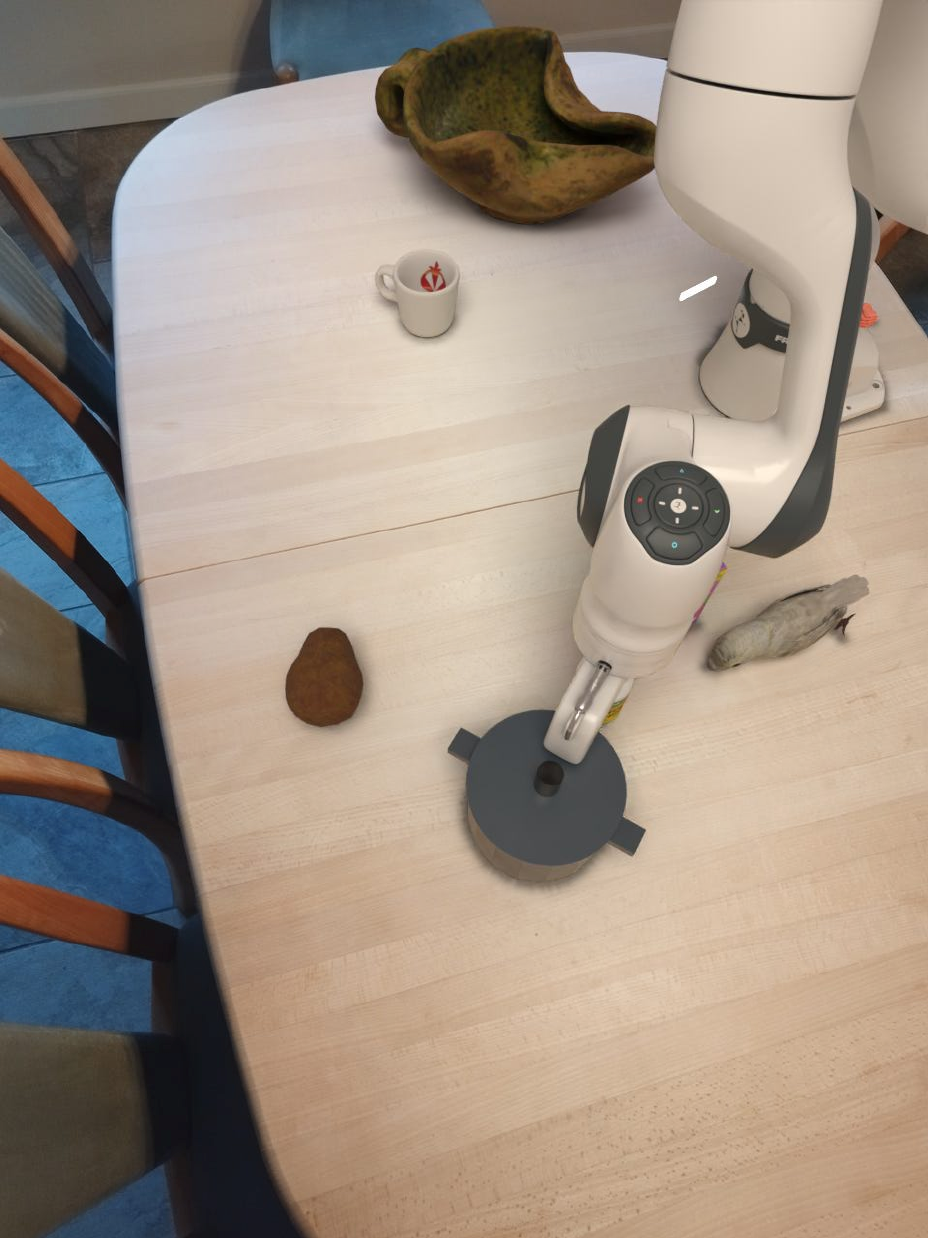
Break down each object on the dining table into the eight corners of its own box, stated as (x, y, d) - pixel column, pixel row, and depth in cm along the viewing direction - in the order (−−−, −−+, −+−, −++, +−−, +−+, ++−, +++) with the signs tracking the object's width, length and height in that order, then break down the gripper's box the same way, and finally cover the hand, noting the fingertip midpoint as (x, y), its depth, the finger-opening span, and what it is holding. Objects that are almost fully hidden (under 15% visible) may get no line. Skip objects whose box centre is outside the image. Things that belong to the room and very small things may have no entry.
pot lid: (512, 688, 78) (516, 668, 75) (650, 761, 75) (660, 745, 72) (435, 816, 73) (435, 802, 69) (581, 901, 70) (589, 891, 66)
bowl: (648, 120, 131) (664, 10, 118) (655, 245, 116) (673, 135, 103) (392, 120, 134) (379, 13, 121) (367, 242, 119) (349, 135, 106)
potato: (362, 647, 89) (355, 610, 82) (369, 737, 84) (363, 706, 77) (289, 654, 88) (276, 617, 81) (292, 745, 83) (279, 715, 76)
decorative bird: (693, 648, 90) (714, 613, 83) (821, 595, 93) (850, 558, 87) (721, 692, 87) (745, 660, 81) (851, 636, 91) (883, 601, 84)
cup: (365, 327, 110) (360, 275, 103) (391, 287, 113) (388, 234, 106) (443, 352, 108) (444, 302, 101) (467, 311, 112) (469, 259, 105)
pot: (484, 713, 86) (489, 678, 78) (650, 804, 82) (672, 776, 74) (418, 822, 80) (416, 796, 73) (592, 925, 76) (609, 908, 69)
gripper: (609, 744, 65) (581, 798, 77) (713, 547, 73) (673, 623, 86) (534, 704, 66) (519, 763, 78) (645, 515, 75) (615, 594, 87)
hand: (600, 688), depth 82 cm, fingers closed on supplement bottle, 5 cm apart
